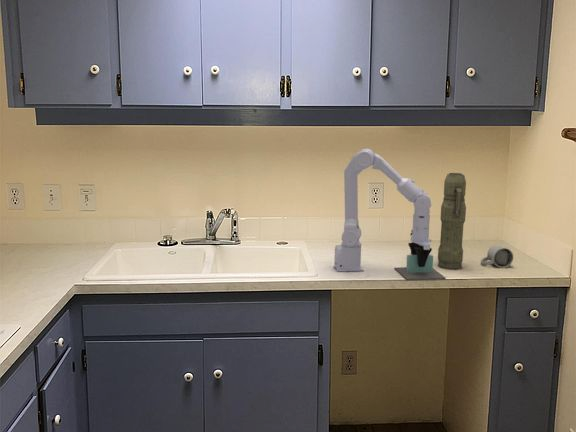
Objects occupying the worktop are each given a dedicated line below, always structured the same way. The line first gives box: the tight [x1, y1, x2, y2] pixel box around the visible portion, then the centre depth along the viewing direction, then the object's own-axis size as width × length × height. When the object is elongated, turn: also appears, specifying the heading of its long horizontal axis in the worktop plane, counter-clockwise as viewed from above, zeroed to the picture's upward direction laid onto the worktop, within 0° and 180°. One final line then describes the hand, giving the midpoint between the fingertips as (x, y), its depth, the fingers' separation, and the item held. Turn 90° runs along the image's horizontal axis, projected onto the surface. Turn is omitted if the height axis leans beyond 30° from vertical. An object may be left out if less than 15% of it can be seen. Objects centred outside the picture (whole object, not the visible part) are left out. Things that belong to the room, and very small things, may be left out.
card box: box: [406, 254, 434, 273], centre depth 207 cm, size 9×2×6 cm, turn 97°
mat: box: [393, 266, 447, 281], centre depth 206 cm, size 14×14×1 cm
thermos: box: [437, 172, 467, 271], centre depth 214 cm, size 9×12×35 cm
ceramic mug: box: [480, 244, 514, 269], centre depth 219 cm, size 11×8×8 cm
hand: (418, 264), depth 207 cm, fingers open, 5 cm apart
